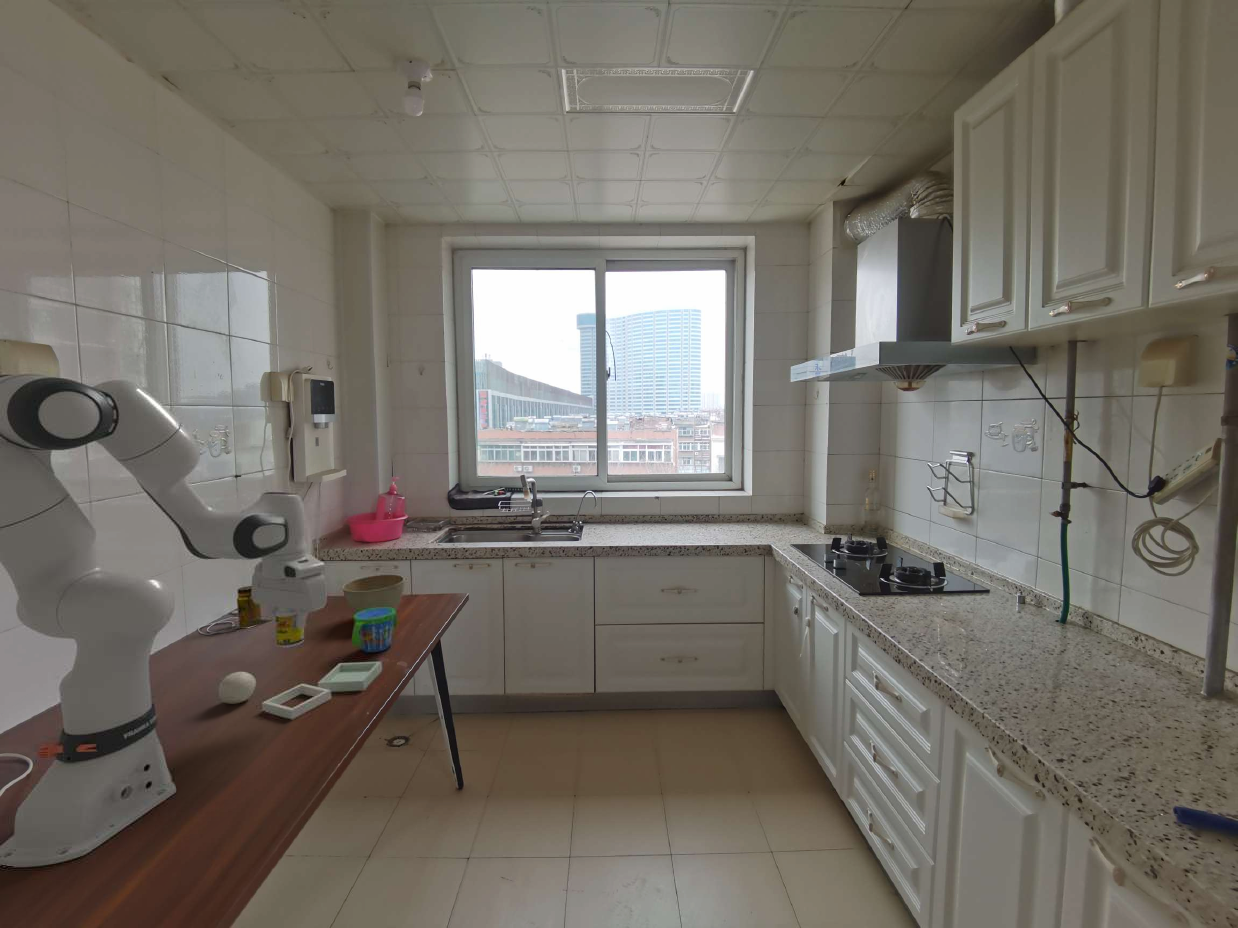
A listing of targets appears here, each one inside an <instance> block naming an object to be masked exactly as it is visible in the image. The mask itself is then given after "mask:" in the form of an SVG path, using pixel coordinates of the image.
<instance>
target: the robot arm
mask: <svg viewBox="0 0 1238 928" xmlns="http://www.w3.org/2000/svg"><path fill="white" fill-rule="evenodd" d="M93 442H95V443H97V444H98V445H100V446H101V447H103V448H104V450H106V451H107V453H108V454H109V455H110V456H111V457H113V459H115V460H116V461H117V462H118V463H119V464H120V465H121V466H122V467H123V468H125V469H126V471H128V472H129V473H130V474H131V475H132V476H133V478H135V479H136V482H137V483H138V484H139V486H140V487H141V489H142V490H143V491H144V492H145V494H146V495H147V496H148V497H149V498H150V500H151V501H153V502H154V503H155V505H156V506H157V507H158V508H159V509H160V510H161V512H162V513H164V514H165V515H166V517H167V518H169V520H170V521H171V522H172V523H173V524H174V526H175V527H176V528H177V529H178V531H179V534H180V537H181V538H182V541H183V543H184V545H185V548H186V549H187V551H188V552H189V553H191V554H192V555H193V556H194V557H197V558H198V559H203V560H218V559H219V560H221V559H227V560H243V561H245V560H247V561H249V560H250V561H251V560H257V559H260V558H261V561H259V562H258V563H257V564H256V566H254V572H253V574H252V577H251V586H252V588H251V594H252V600H253V602H254V603H256V604H260V605H265V606H268V610H269V613H270V614H271V617H272V619H273V624H274V625H275V626H276V612H277V611H278V610H279V606H280V605H281V606H282V607H284V608H289V609H295V610H296V614H298V616H297V619H296V620H295V621H294V628H297V629H302V628H304V629H305V628H306V626H307V623H306V622H307V621H306V619H307V617H308V614H309V613H310V612H311V613H313V612H315V611H318V610H321V609H324V608H325V606H326V605H327V601H328V596H327V594H328V593H327V581H326V579H325V576H324V575H323V574H322V573H324V572H325V570H326V566H325V565H326V564H325V563H324V561H321V560H319V559H318V558H316V557H314V556H313V555H312V554H310V553H309V548H308V544H307V542H306V533H307V519H306V518H307V517H306V512H305V505H304V503H303V499H302V498H301V497H300V495H298V494H296V493H294V492H284V491H283V492H279V491H268V492H264V493H261V494H260V497H259V499H258V500H256V502H254V503H253V504H252V505H251V506H248V507H247V508H245V509H242V510H241V511H240V512H239V511H238V512H237V511H223V510H219V509H215V508H213V507H210V506H209V505H207V503H205V501H204V500H203V499H202V498H201V497H200V496H199V494H198V493H197V492H196V490H195V489H194V488H193V487H192V486H191V484H190V483H189V482H188V481H187V479H186V477H187V476H189V475H190V474H191V473H192V472H193V471H194V470H195V468H196V467H197V466H198V463H199V461H200V457H201V447H200V445H199V444H198V442H197V440H196V438H195V437H194V435H193V434H192V433H191V431H190V430H189V429H188V428H187V427H186V426H185V425H184V424H183V423H182V422H181V421H180V419H178V417H176V415H174V414H173V412H171V411H170V410H169V409H168V408H167V407H166V406H165V405H164V404H163V403H161V402H160V401H159V400H158V399H157V398H156V397H155V396H153V395H151V393H149V392H148V391H146V390H145V389H144V388H142V387H141V386H139V385H138V384H136V383H134V382H132V381H129V380H123V379H116V380H113V379H112V380H108V381H104V382H100V383H98V384H95V385H94V386H89V385H87V384H84V383H82V382H79V381H76V380H73V379H68V378H63V377H56V376H55V377H54V376H53V377H52V376H47V375H43V374H37V373H35V374H34V373H22V374H21V373H19V374H0V564H1V565H2V566H3V568H4V569H5V570H6V572H7V573H8V576H9V578H10V579H11V581H12V584H13V586H14V588H15V591H16V594H17V596H18V599H17V602H16V607H15V608H16V609H15V610H16V615H17V618H18V620H19V621H20V622H21V624H22V625H24V626H25V627H27V628H29V629H31V630H33V631H34V632H37V633H38V634H41V635H45V636H46V637H52V638H60V639H70V640H74V641H75V644H76V654H75V657H74V658H75V659H74V663H73V666H72V669H71V670H70V671H69V672H68V673H66V674H65V676H64V677H63V678H62V679H61V681H60V684H59V697H60V705H61V713H62V714H61V715H62V722H63V728H62V729H61V732H60V734H59V737H58V742H56V743H44V744H41V746H39V747H38V750H37V754H36V755H37V758H38V757H39V758H40V759H43V758H48V757H49V758H55V760H54V761H53V762H52V764H51V765H50V767H49V768H48V770H46V772H45V773H44V774H43V776H42V777H41V778H40V779H39V781H38V782H37V783H36V785H35V786H34V788H33V789H32V790H31V792H29V794H28V796H26V798H25V799H24V800H23V802H22V803H21V804H20V806H18V808H17V811H16V814H15V818H14V825H13V827H14V831H13V835H12V836H11V837H9V838H8V839H7V840H6V841H5V842H3V843H2V844H1V845H0V864H1V865H7V866H13V867H12V868H28V867H40V866H41V867H43V866H48V865H53V864H58V863H64V862H66V861H70V860H73V859H77V858H79V857H83V856H85V855H87V854H88V853H90V852H92V851H93V850H95V849H96V848H97V847H99V846H101V845H102V844H103V843H104V842H106V841H108V840H109V839H110V838H111V837H113V836H115V835H116V834H118V833H119V832H120V831H122V830H124V829H126V827H127V826H129V825H130V824H132V823H133V822H135V821H137V820H138V819H140V818H141V817H143V815H145V814H147V813H148V812H150V811H151V810H152V809H154V808H155V807H157V806H158V805H159V804H161V803H162V802H164V801H166V800H167V799H168V798H170V797H171V796H172V795H174V794H175V793H176V792H177V788H176V784H175V783H174V782H173V781H172V780H173V779H172V778H173V776H172V774H171V772H170V770H169V768H168V765H167V761H166V757H165V753H164V749H163V747H162V744H161V741H160V739H159V737H158V734H157V731H156V727H157V725H158V712H157V711H156V705H155V703H154V702H153V701H152V695H151V694H152V693H151V683H150V671H149V669H150V665H149V664H150V657H151V651H152V648H153V645H154V641H155V639H156V637H157V635H158V634H159V632H160V631H161V630H163V628H164V627H166V625H168V623H169V622H170V621H171V618H172V617H173V614H174V612H175V606H176V599H175V594H174V592H173V590H172V589H171V588H170V586H169V585H168V584H167V583H164V582H163V581H161V580H158V579H156V578H153V577H150V576H146V575H145V574H144V575H143V574H140V573H131V572H130V573H125V572H124V573H123V572H111V571H108V570H106V569H104V567H102V566H101V565H100V564H99V563H98V561H97V559H96V556H95V553H94V550H93V545H94V543H95V541H96V538H97V532H96V528H94V526H93V525H92V523H91V522H90V520H89V519H88V517H87V516H86V515H85V513H84V512H83V510H82V509H81V507H79V505H78V504H77V502H76V501H75V499H74V498H73V497H72V495H71V494H70V493H69V491H68V490H67V488H66V487H65V486H64V484H63V483H62V482H61V481H60V479H59V478H58V477H57V476H56V475H55V471H54V469H53V466H52V460H51V459H52V458H51V457H52V452H53V451H64V450H66V451H67V450H72V449H76V448H80V447H83V446H86V445H88V444H90V443H93ZM1 865H0V866H1Z"/></svg>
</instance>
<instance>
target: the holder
mask: <svg viewBox="0 0 1238 928" xmlns="http://www.w3.org/2000/svg"><path fill="white" fill-rule="evenodd" d="M300 694H301V695H306V696H310V697H311V698H309V699H307V700H305V701H303V702H301V703H299V704H297V705H295V706H294V707H290V706H286V705H282V704H284V703H286V702H288V701H290V700H293V699H294V697H295V698H296V696H297V697H299V696H301V695H300ZM298 695H299V696H298ZM292 698H293V699H292ZM330 700H332V692H331V690H328V689H324V688H319V687H318V686H314V685H310V684H306V683H300V684H298V685H296V686H294V687H292V688H290V689H288V690H286V691H283V692H281V693H280V694H277V695H275V696H273V697H271V698H269V699H267V700H265V701H263V702H261V706H262V712H263V711H265V712H264V713H267V712H268V714H271V715H275V716H277V717H278V716H279V717H282V718H285V719H289V720H294V719H297V718H298V717H300V716H301V715H304V714H305V713H308V712H309V711H311V710H313V709H314V708H316V707H318V706H320V705H323V704H324V703H326V702H327V701H330Z"/></svg>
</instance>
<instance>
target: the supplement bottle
mask: <svg viewBox="0 0 1238 928" xmlns="http://www.w3.org/2000/svg"><path fill="white" fill-rule="evenodd" d="M297 616H298V614H296V610H295V609H289V608H284V607H282V606H281V605H280V606H279V610H278V611H277V612H276V625H275V626H276V627H275V628H276V631H275V632H276V643H277V646H278V647H279V648H293V647H296V646H299V645H301V644H302V643H304V641H305V627H304V628H302V629H297V628H294V621H295V620H296V619H297Z"/></svg>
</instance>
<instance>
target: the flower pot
mask: <svg viewBox="0 0 1238 928" xmlns="http://www.w3.org/2000/svg"><path fill="white" fill-rule="evenodd" d="M404 588H405V577H404V576H402V575H398V574H376V575H370V576H365V577H361V578H356V579H354V580H351V581H349V582H347V583H345V584H343V586H342V591H343V596H344V600H345V602H346V603H347V605H348V607H349V609H350V610H351V612H352V613H353V615H355V614H357V613H358V612H360V611H363V610H367V609H371V608H378V607H389V608H393V609H394V610H395V612H396V610H397V609H398V607H399V605H400V603H401V601H402V598H403V594H404Z"/></svg>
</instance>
